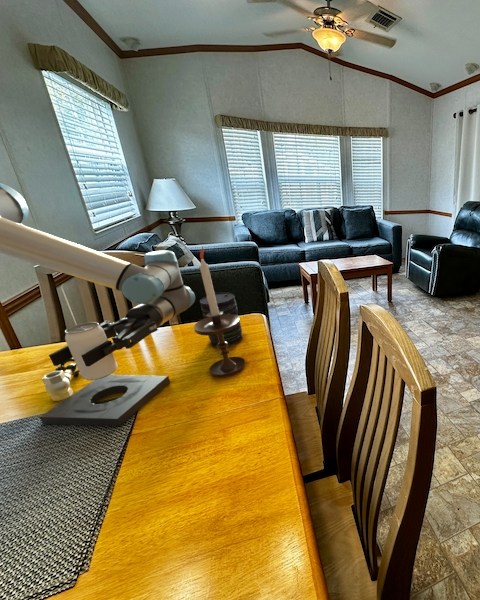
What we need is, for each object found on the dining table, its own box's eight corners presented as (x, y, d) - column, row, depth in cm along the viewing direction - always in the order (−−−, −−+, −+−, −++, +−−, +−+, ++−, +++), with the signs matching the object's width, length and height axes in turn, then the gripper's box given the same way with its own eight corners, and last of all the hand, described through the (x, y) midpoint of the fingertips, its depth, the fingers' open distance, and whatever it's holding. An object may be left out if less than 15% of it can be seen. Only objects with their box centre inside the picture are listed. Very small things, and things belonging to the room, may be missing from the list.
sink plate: (42, 424, 73) (38, 416, 72) (105, 380, 88) (102, 374, 87) (120, 426, 72) (117, 419, 71) (170, 382, 87) (168, 375, 86)
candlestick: (250, 355, 99) (227, 240, 86) (246, 375, 90) (219, 249, 77) (210, 361, 96) (180, 243, 83) (202, 382, 87) (166, 253, 73)
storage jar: (220, 350, 102) (210, 306, 96) (204, 342, 107) (192, 300, 101) (249, 337, 109) (241, 296, 104) (232, 330, 114) (223, 290, 109)
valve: (77, 397, 81) (93, 372, 91) (67, 375, 79) (84, 352, 89) (41, 405, 78) (61, 379, 88) (29, 383, 76) (51, 358, 86)
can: (102, 381, 74) (82, 334, 69) (74, 381, 74) (53, 334, 69) (125, 365, 80) (108, 320, 75) (99, 365, 80) (81, 321, 75)
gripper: (187, 327, 92) (118, 376, 71) (120, 327, 93) (33, 374, 72) (180, 303, 89) (106, 346, 68) (111, 302, 90) (17, 344, 69)
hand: (69, 360), depth 70 cm, fingers closed on can, 6 cm apart
